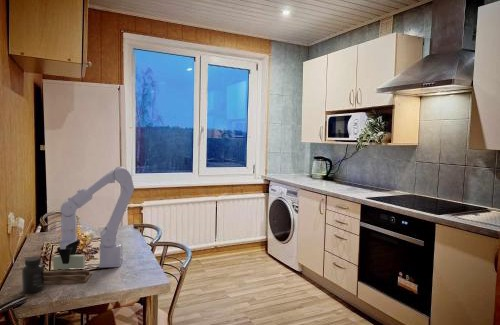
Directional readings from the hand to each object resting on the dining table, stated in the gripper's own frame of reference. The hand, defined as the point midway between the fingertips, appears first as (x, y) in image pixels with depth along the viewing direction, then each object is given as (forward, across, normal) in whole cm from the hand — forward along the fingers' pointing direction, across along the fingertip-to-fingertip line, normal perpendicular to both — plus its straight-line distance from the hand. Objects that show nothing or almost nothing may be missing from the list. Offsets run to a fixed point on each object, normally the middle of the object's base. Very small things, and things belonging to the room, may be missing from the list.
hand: (69, 260), depth 147 cm
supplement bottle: (+4, +20, -6) cm, 21 cm away
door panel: (+4, 0, 0) cm, 4 cm away
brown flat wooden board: (+4, +11, +2) cm, 12 cm away
